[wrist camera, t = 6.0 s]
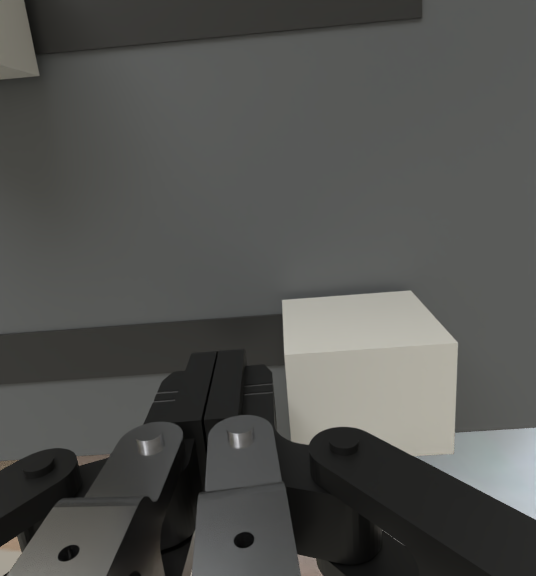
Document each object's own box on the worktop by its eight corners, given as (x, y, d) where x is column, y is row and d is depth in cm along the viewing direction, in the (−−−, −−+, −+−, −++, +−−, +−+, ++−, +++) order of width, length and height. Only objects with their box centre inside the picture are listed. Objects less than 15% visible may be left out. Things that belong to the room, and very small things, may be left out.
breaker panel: (546, -157, 14) (618, -236, 11) (507, 384, 19) (548, 428, 16) (-227, -73, 15) (-349, -125, 12) (-63, 422, 20) (-121, 470, 17)
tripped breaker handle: (410, 290, 15) (457, 342, 11) (410, 377, 16) (453, 453, 12) (281, 300, 15) (284, 354, 11) (288, 385, 16) (293, 463, 12)
